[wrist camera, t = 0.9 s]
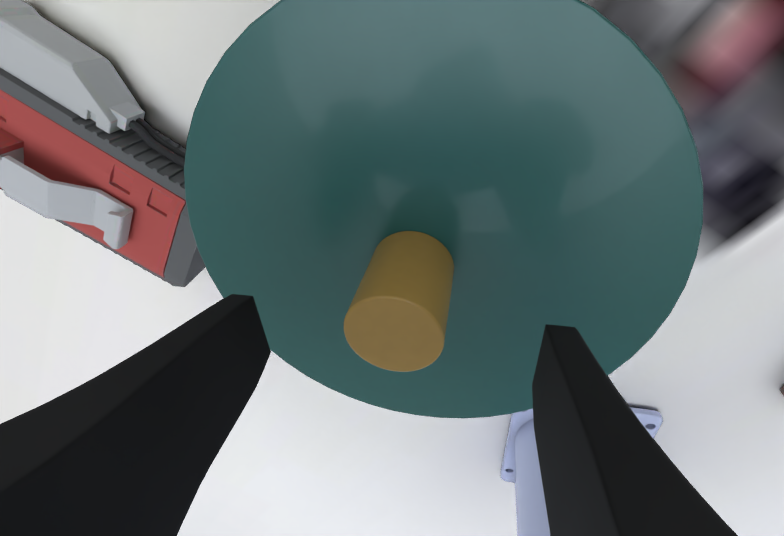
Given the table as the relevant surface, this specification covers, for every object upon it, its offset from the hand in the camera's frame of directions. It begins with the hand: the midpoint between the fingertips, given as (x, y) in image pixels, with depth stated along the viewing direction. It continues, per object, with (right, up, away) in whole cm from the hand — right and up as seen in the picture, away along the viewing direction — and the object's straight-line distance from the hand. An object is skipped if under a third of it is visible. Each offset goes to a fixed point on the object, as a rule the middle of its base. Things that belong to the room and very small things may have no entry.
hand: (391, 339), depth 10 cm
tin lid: (+1, +2, +3) cm, 4 cm away
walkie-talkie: (-16, +9, +10) cm, 21 cm away
